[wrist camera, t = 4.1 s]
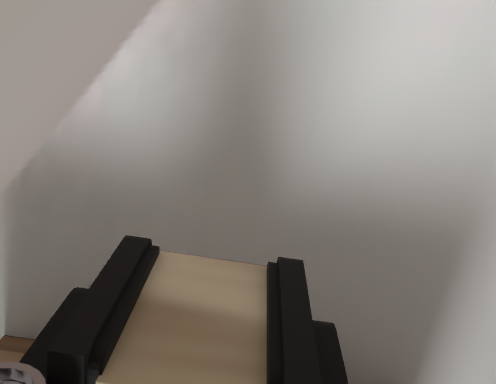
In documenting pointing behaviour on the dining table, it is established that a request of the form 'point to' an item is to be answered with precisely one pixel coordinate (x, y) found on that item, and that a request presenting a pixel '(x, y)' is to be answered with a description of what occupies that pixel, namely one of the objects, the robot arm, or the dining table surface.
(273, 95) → the dining table surface
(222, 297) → the wooden key
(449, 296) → the dining table surface
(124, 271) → the robot arm
